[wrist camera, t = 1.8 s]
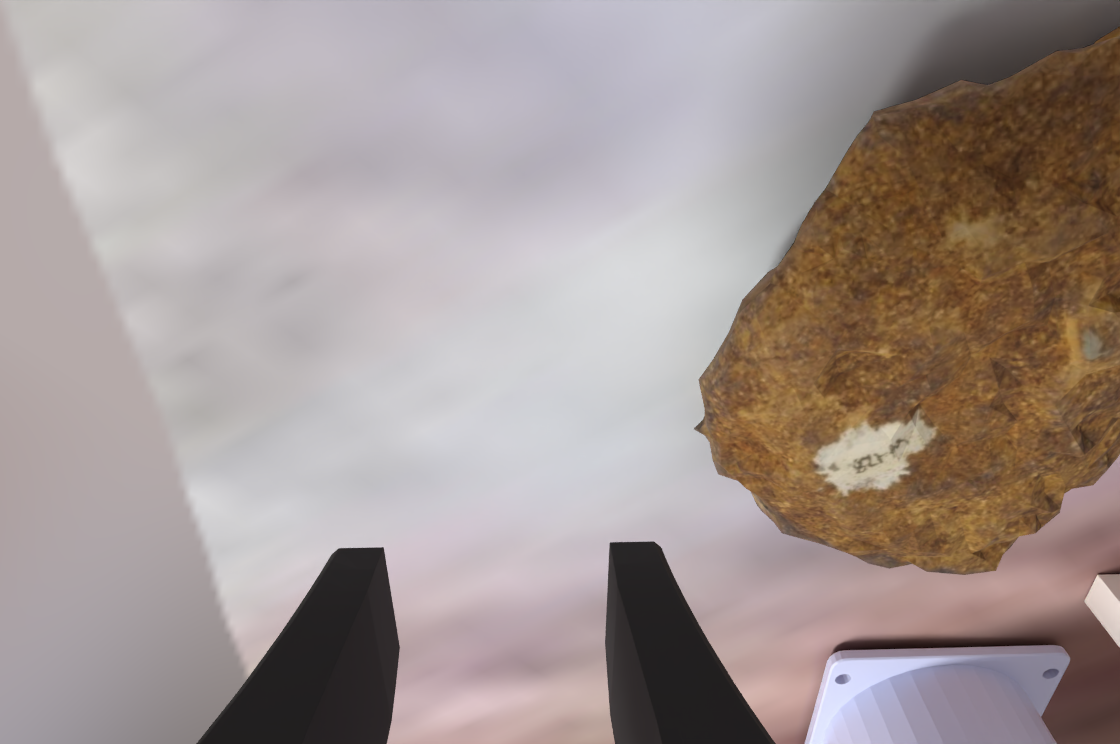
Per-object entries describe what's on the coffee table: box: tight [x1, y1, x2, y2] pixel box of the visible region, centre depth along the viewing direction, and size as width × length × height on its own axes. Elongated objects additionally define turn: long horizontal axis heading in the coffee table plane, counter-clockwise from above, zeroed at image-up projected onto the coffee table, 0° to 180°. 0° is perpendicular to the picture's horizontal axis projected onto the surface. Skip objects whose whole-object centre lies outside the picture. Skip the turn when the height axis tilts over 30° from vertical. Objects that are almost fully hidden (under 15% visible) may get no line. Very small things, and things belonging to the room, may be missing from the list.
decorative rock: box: [694, 27, 1120, 575], centre depth 18 cm, size 11×4×15 cm
